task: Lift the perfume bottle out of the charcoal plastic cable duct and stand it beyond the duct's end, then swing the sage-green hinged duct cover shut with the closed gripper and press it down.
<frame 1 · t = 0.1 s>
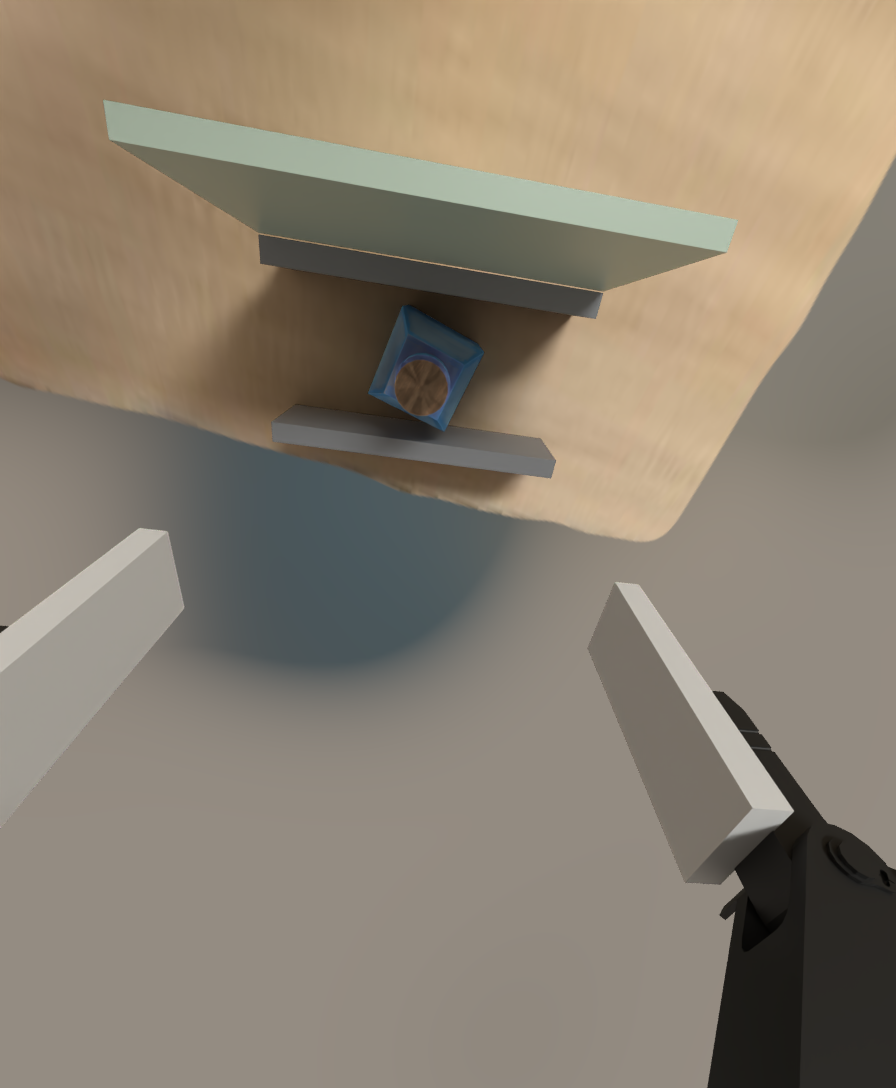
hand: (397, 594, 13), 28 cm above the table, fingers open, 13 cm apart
duct: (427, 361, 35), on the table
perfume bottle: (427, 361, 35), on the table
duct cover: (437, 228, 21), point 12 cm above the table, hinge at 95.0°
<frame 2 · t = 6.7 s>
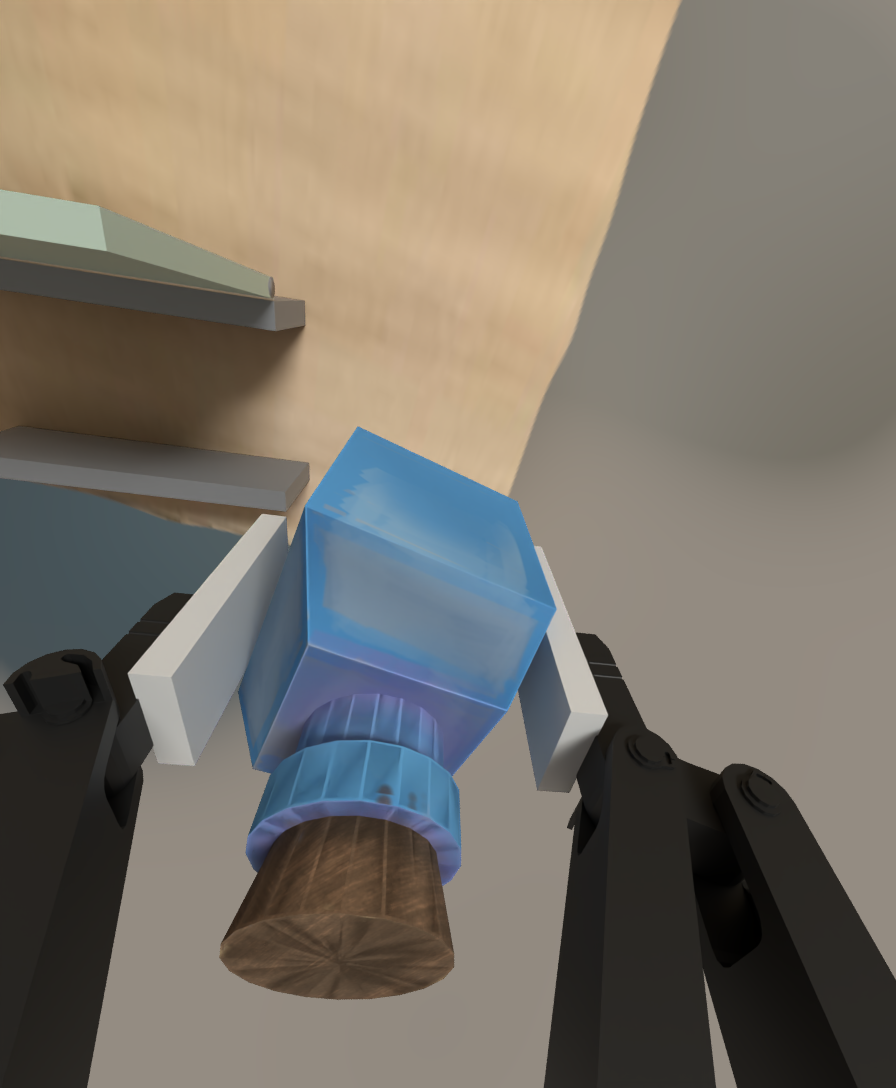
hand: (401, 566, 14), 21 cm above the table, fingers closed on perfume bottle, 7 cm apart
duct: (154, 378, 31), on the table
perfume bottle: (406, 532, 16), point 19 cm above the table, touching gripper
when the fingers open (3 cm above the table, at t = 10.5 s): perfume bottle stays where it is, on the table.
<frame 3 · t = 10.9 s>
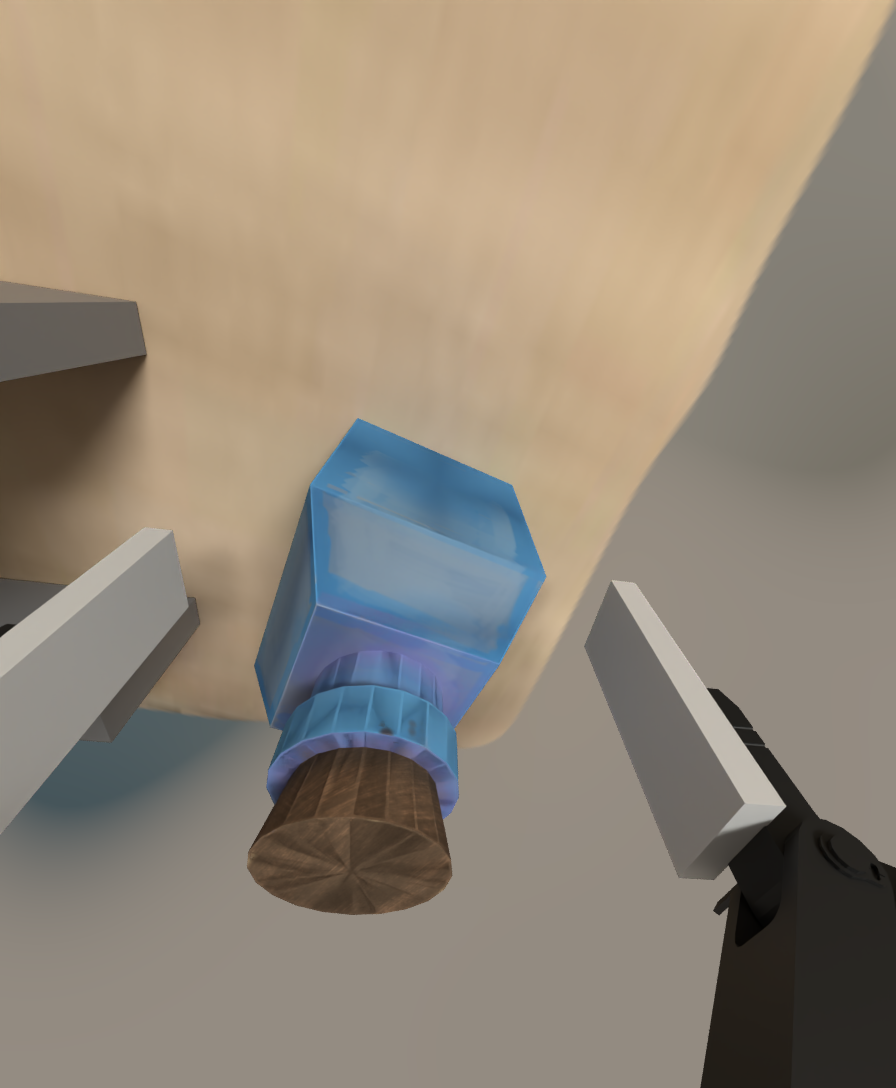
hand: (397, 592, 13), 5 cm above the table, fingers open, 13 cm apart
perfume bottle: (407, 519, 17), on the table
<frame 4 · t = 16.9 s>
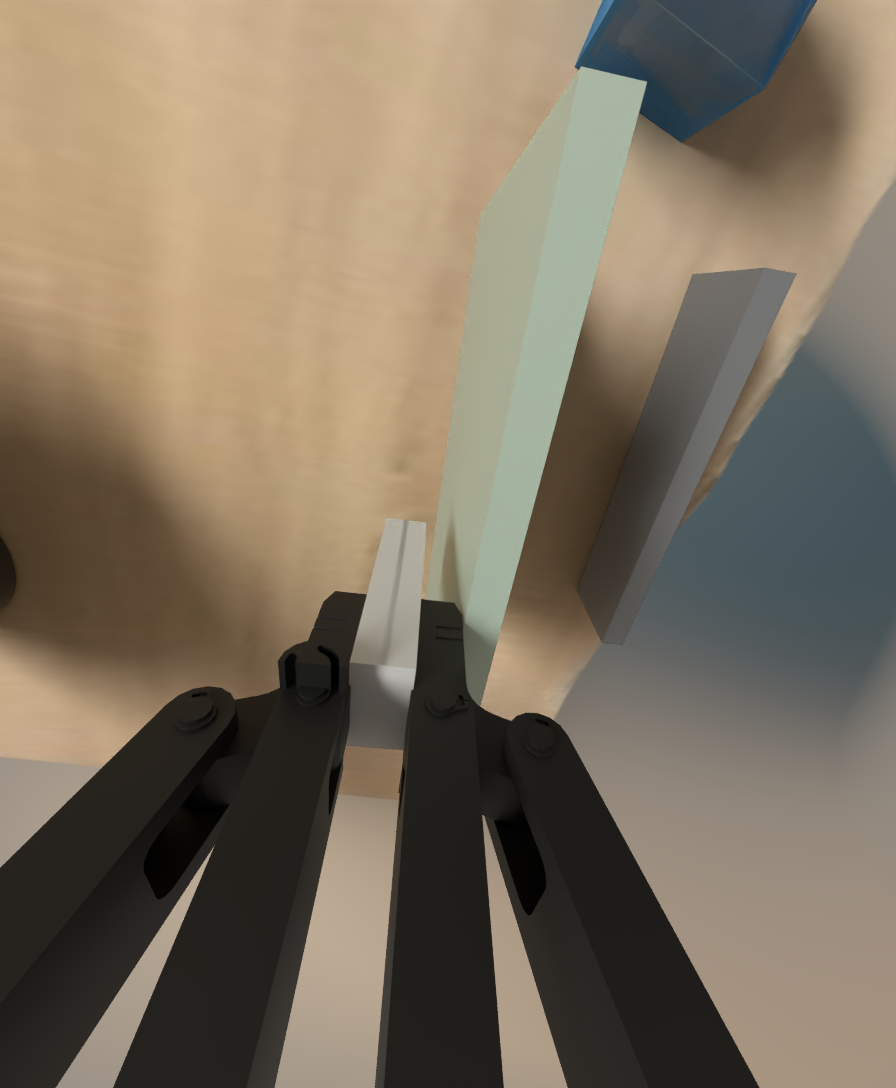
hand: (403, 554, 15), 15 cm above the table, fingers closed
duct: (553, 453, 29), on the table
perfume bottle: (669, 20, 19), on the table
duct cover: (461, 527, 17), point 12 cm above the table, hinge at 88.5°, touching gripper
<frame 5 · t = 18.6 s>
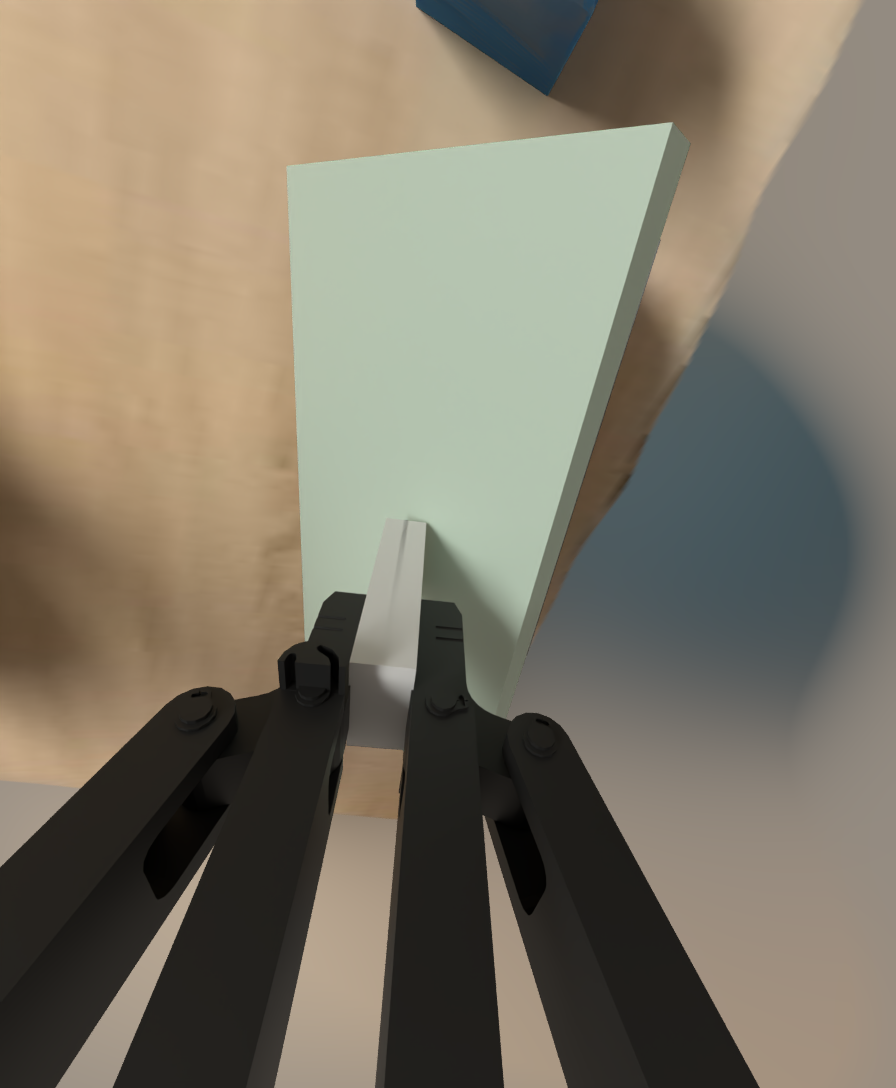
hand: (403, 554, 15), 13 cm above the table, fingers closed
duct: (448, 447, 26), on the table
duct cover: (394, 525, 17), point 11 cm above the table, hinge at 45.2°, touching gripper
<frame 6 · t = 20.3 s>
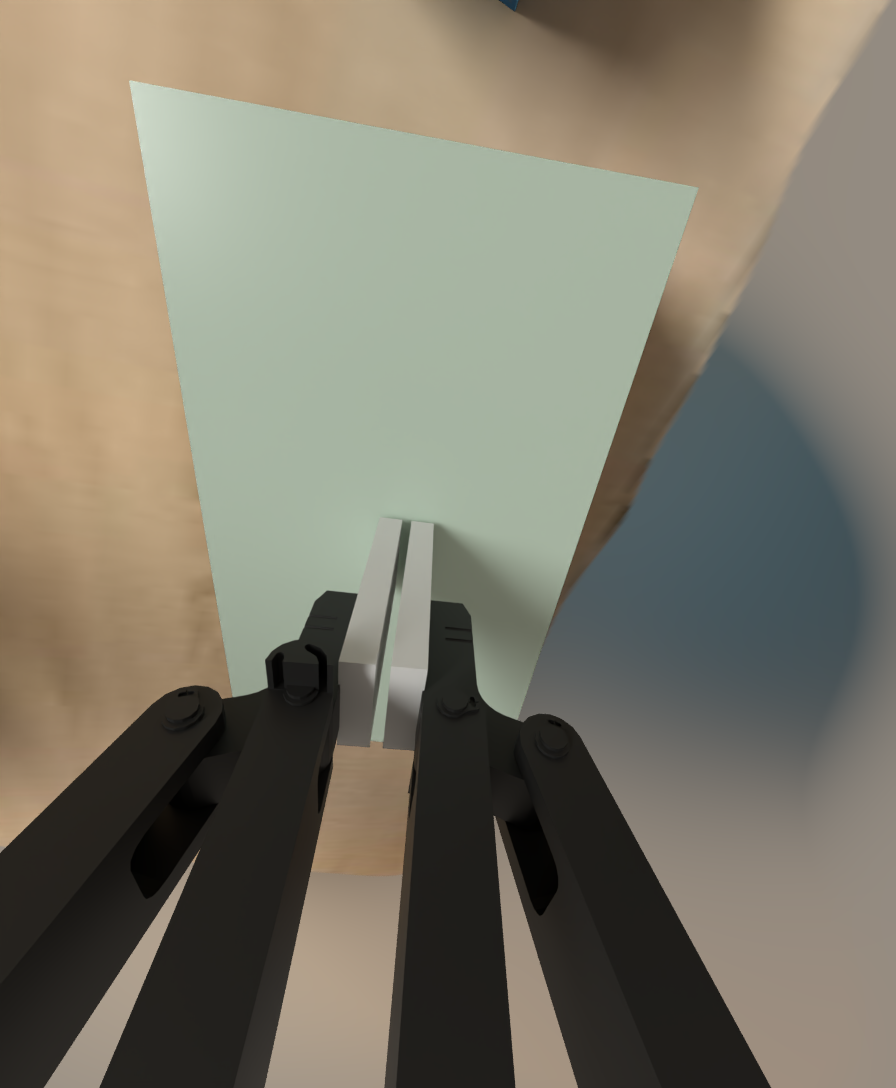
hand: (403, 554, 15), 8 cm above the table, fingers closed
duct cover: (390, 541, 15), point 7 cm above the table, hinge at 1.5°, touching gripper
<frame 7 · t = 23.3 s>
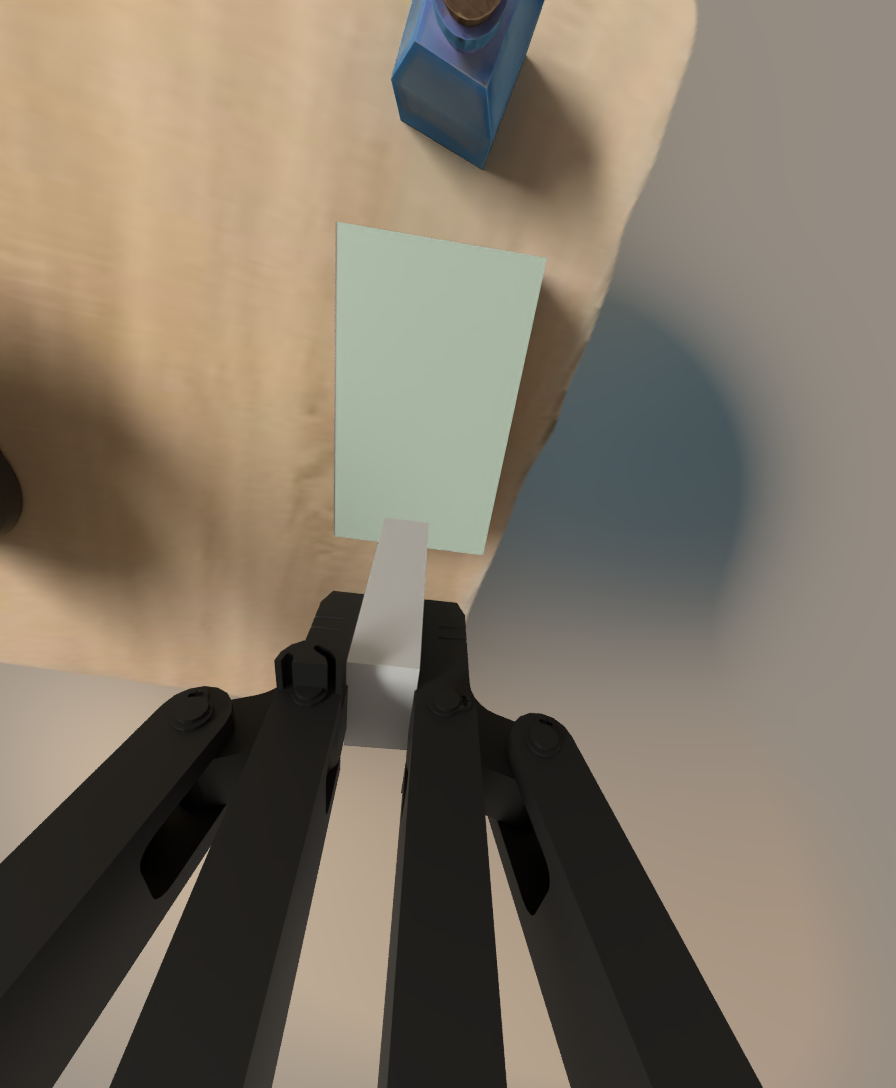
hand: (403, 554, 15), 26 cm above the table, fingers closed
perfume bottle: (461, 89, 28), on the table
duct cover: (422, 417, 32), point 7 cm above the table, hinge at 1.4°
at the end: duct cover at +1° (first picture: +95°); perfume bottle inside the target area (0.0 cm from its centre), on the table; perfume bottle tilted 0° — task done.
